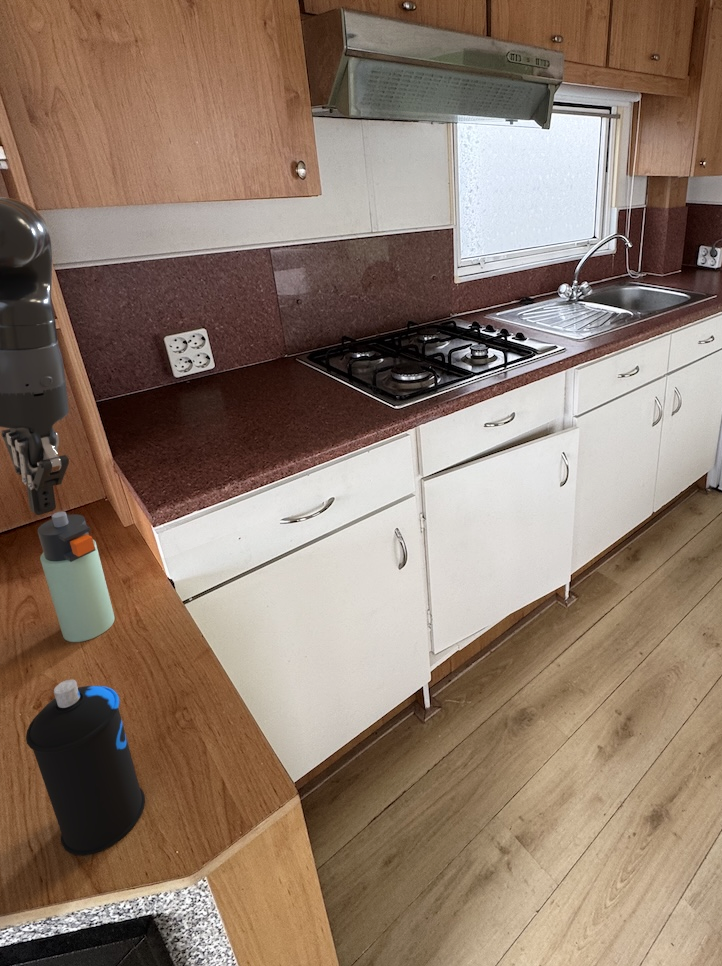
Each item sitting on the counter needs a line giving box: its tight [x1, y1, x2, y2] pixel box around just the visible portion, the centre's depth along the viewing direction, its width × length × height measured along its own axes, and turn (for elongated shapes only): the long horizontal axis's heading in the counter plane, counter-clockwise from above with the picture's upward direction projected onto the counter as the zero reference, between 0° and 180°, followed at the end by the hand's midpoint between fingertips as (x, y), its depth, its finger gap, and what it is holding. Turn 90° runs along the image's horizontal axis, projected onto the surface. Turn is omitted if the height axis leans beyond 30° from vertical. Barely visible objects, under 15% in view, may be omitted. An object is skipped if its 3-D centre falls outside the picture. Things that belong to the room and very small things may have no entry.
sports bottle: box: [37, 511, 116, 643], centre depth 93 cm, size 8×7×22 cm
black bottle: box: [25, 679, 146, 856], centre depth 64 cm, size 8×8×20 cm
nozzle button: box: [70, 534, 95, 557], centre depth 88 cm, size 2×2×2 cm
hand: (43, 510), depth 72 cm, fingers closed
